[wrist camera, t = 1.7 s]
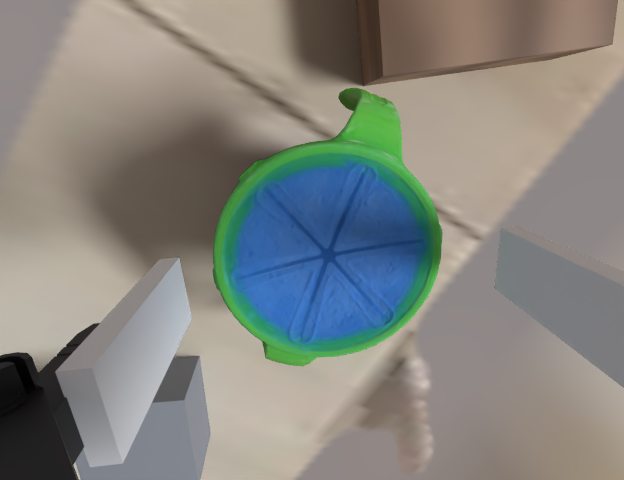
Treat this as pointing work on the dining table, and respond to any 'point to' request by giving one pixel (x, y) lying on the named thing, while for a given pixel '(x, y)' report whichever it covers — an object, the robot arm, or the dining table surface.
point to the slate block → (165, 432)
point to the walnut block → (474, 34)
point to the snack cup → (329, 241)
